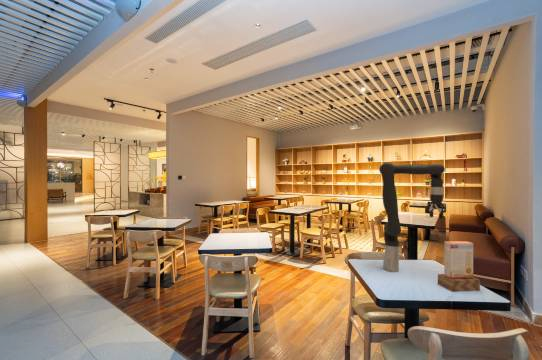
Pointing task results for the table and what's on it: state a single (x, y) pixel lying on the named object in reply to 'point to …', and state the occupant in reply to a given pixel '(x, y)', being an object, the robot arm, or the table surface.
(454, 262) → the cracker box
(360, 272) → the table surface
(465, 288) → the walnut block
